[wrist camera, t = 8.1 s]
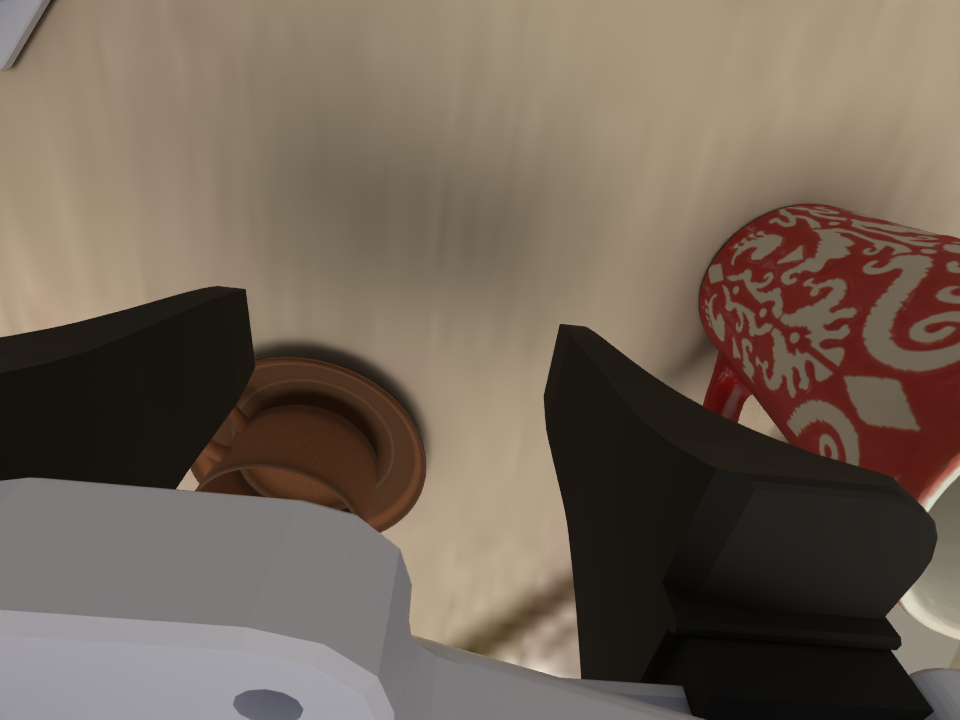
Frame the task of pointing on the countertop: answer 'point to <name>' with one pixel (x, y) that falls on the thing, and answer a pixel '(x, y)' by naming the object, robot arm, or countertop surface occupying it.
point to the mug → (851, 358)
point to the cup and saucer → (317, 443)
